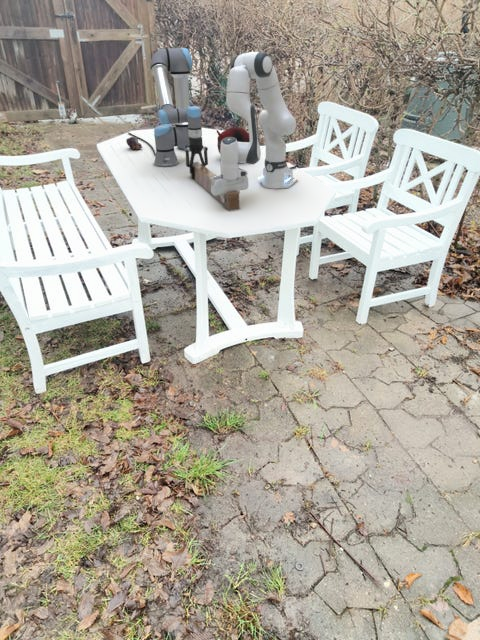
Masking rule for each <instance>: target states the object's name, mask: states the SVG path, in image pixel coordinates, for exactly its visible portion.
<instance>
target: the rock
mask: <svg viewBox="0 0 480 640" xmlns="http://www.w3.org/2000/svg"><path fill="white" fill-rule="evenodd" d="M137 137H138V136H137ZM137 137H134V136H130V137H128V138H126V140H125V142H126V144H127V146H128V147H129V149H131V150H141V149H143V146H142V143H140V142H139V140H138V139H139V138H137Z"/></svg>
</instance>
